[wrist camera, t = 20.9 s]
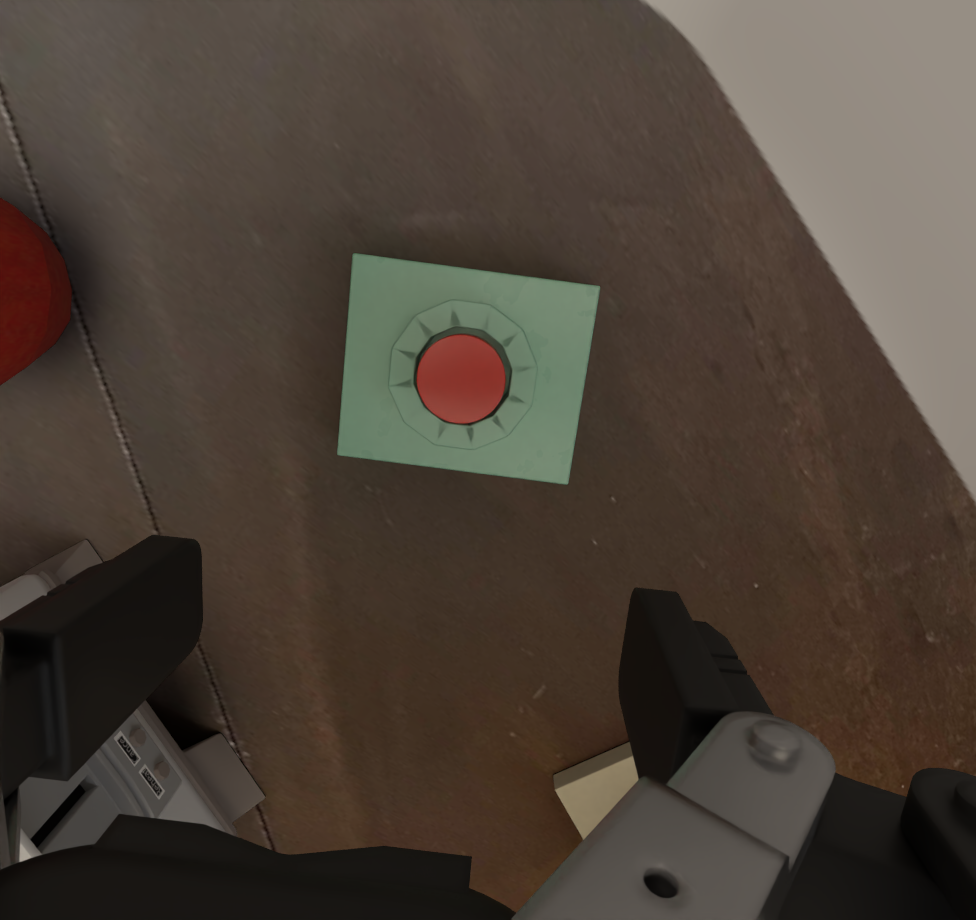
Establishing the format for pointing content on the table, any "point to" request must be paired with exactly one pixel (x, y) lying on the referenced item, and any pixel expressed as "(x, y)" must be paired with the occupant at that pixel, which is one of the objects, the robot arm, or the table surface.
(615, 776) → the bracket
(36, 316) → the apple
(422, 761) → the table surface
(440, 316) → the box
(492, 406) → the button
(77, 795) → the toaster
